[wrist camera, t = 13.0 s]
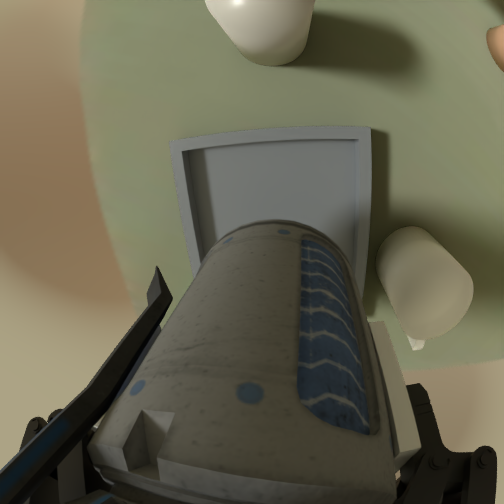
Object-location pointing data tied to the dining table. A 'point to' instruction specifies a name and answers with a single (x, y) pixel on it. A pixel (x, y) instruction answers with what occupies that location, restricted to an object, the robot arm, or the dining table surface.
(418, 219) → the dining table surface
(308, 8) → the cream rounded capsule
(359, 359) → the beverage bottle
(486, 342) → the dining table surface
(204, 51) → the dining table surface
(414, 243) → the white mug
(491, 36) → the terracotta sugar bowl
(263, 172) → the tray
